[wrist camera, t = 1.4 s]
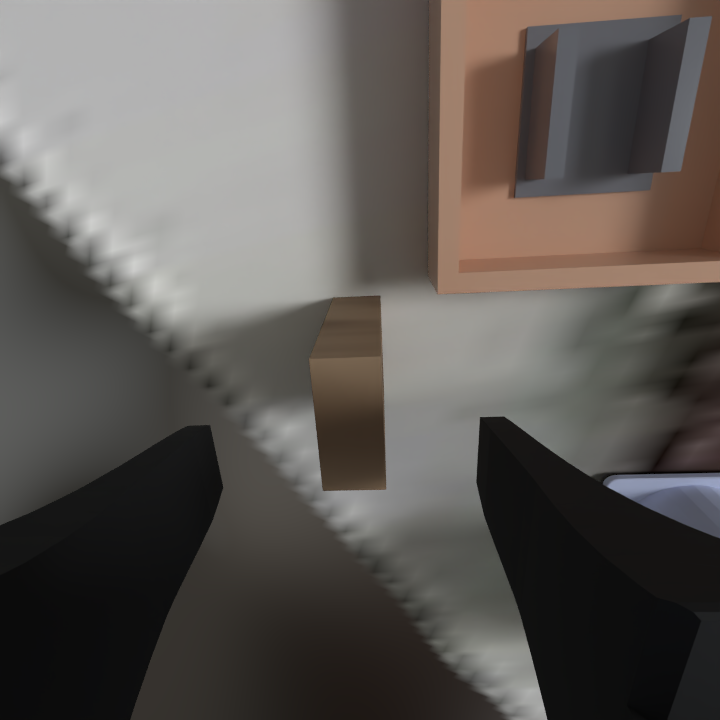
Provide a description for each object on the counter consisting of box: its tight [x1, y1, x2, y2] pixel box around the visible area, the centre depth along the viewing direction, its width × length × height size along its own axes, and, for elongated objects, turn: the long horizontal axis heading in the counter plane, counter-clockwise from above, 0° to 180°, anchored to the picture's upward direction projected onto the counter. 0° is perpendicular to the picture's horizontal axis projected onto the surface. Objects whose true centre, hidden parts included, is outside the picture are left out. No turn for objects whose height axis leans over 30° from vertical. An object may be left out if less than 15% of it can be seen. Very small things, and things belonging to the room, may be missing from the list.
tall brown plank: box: [309, 296, 386, 491], centre depth 16 cm, size 4×2×7 cm, turn 3°
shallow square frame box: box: [428, 0, 720, 294], centre depth 14 cm, size 11×11×3 cm
